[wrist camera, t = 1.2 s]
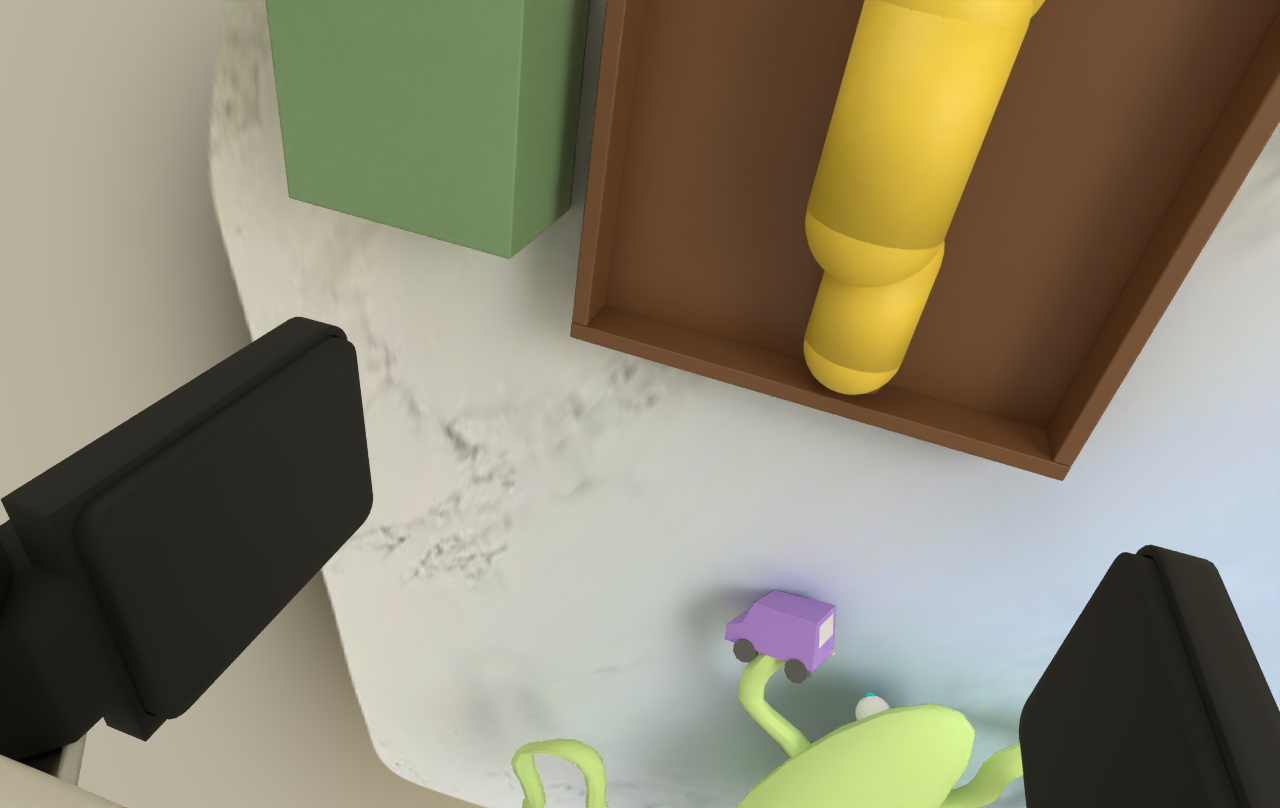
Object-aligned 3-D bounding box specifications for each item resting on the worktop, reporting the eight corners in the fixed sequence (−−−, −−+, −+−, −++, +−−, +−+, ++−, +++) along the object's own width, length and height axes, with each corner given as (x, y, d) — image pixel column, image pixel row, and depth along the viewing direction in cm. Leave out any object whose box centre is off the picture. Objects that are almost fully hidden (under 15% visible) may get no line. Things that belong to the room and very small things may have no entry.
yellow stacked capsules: (938, -303, 18) (975, -345, 14) (1126, -271, 18) (1208, -307, 14) (761, 345, 28) (759, 407, 24) (880, 369, 27) (894, 435, 24)
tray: (680, -378, 19) (650, -414, 17) (1463, -283, 16) (1542, -312, 14) (594, 307, 30) (569, 336, 28) (1052, 437, 27) (1063, 481, 25)
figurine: (505, 706, 46) (459, 791, 42) (862, 508, 31) (850, 610, 27) (719, 884, 49) (698, 982, 45) (1139, 784, 34) (1171, 917, 30)
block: (362, -86, 25) (254, -86, 21) (593, -39, 24) (525, -29, 20) (375, 158, 30) (288, 198, 26) (569, 210, 28) (510, 260, 24)
